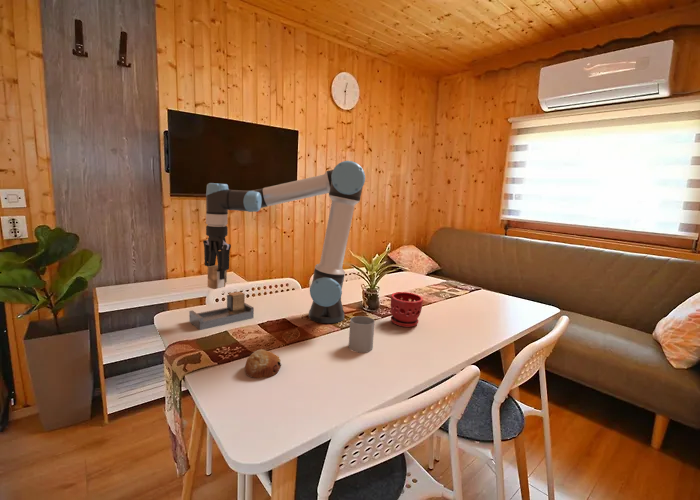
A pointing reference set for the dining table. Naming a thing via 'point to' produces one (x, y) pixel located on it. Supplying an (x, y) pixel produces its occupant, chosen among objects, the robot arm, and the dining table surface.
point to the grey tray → (224, 313)
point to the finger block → (214, 277)
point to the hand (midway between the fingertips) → (216, 286)
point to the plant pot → (405, 308)
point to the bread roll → (262, 364)
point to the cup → (361, 334)
